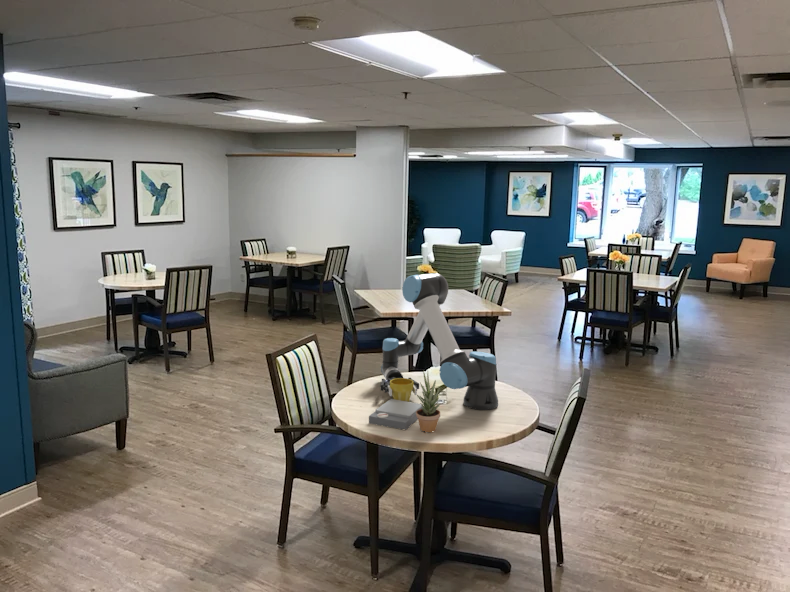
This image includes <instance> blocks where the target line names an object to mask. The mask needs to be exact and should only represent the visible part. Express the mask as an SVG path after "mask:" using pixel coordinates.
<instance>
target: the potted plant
mask: <svg viewBox="0 0 790 592" xmlns="http://www.w3.org/2000/svg"><path fill="white" fill-rule="evenodd" d="M422 373H423V379H424V380H423V381H424V385H425V387H424V385H423V384H422V382H420V381H419V385H420V387H421V389H422V391H421V393H422V396H423V397H422V396H421V395H418V394H417V395H416V396H417V398H418V399H419V400H420V403H419V404H421V405H422V406H423V407H424V408H422V409H419V410H417V411H416V416H417V418H418V420H417V421H418V424H419V430H420V431H421V430H422V431H425V432H424V433H426V432H431V433H433V432H432V431H434V432H436V429H437V426H438V423H439V419H440V417H441V411H440V410H439V409H438V408H439V407H440V406H441V404H442V403H439V401H438V400H439V399H440V397H439V392H440V390H441V388H440V387H439V388H438V390H437V391H436V392H435V389H436V388H435V387H436V382H437V380H436V379H434V381H433V384H432V387H431V385H430V379H429V378H430V377H429V376H430V375H429V370H427V376H426V375H425V370H423V371H422ZM434 392H435V393H434ZM438 403H439V404H438ZM422 431H421V432H422Z"/></svg>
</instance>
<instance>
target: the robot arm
mask: <svg viewBox="0 0 790 592" xmlns="http://www.w3.org/2000/svg"><path fill="white" fill-rule="evenodd" d="M401 291H402V295H403V298H404V299H405V301H406V302H408V303H412V305H413V307H414V309H416V310H418V313H417V315H416V317H415V320H414V321H413V324H412V326H411V327H410V330H409V332H408V334H407V336H406V338H405V339H404V340H399V339H397V338H394V337H387V338H384V339H383V341H382V364H381V367H380V370H381V371H380V372H381V374H382V376H383V377H384V378H381V382H380V387H379V388H380V389H379V390H380V391H384V393H388V395H389V397H393V395H392V389H391V388H390V381H391V380H392V379H396V378H404V375H403V374H402V372H401V371H400V369H399V358H402V357H406V356H412V355H417V354H420V353H421V352H422V351H423V349H424V342H423V339H424V338H425V337H426V334H427V332H428V331H429V334H430V336H431V338H432V341H433V342H434V344H435V347H436V349H437V351H438V353H439V355H440V358H441V359H440V362H439V364H440V367H439V377H440V380H441V382H442V384H444V386H445V387H447V388H448V389H451V390H457V389H458V390H459V389H463V388H466V387H467V389H466V391H465V394H464V396H463V405H464V406H465V407H467V408H469V409H472V410H479V411H488V410H489V411H490V410H493V409H496V408H497V406H499V399H498V393H497V391H496V376H497V375H496V374H497V358H496V356H495V355H494V354H492V353H488V352H483V351H470V352H469V355H468V356H469V357H468V356H467V354H466V352H465V351H464V350H461V349H460V347H459V345H458V343H457V341H456V338H455V336H454V334H453V331H452V330H451V328H450V326H449V323H448V321H447V320H446V317H445V315H444V312H443V311H442V309H441V305H443V304H444V303H445V301H446V300H447V297H448V294H449V284H448V281H447V279H446V278H445V276H443V275H442V274H440V273H437V272H430V273H420V274H418V273H417V274H416V273H415V274H413V275H409V276H407V277H406V278H405V280H404V281H403V284H402V290H401ZM407 379H411V380H413V382H414V386H413V390H412V391H411V392H412V393H413V394H414V396H417V395H418V393H417V392H418V390H419V389H420V382H417V381H416V380H414V379H412V377H408V378H407Z"/></svg>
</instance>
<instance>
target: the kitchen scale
mask: <svg viewBox="0 0 790 592" xmlns="http://www.w3.org/2000/svg"><path fill="white" fill-rule="evenodd" d="M421 404H422V403H421ZM421 404H420V403H418V402H411V401H409V402H407V401H401V400H395V399H393V398H389V400H387V401H386V402H384V403H383V404H381V405H380V406H379V407H377V408H376V409H375V411H373V412H372V413H371V414H369V415H368V424H370V425H371V424H372V425H376V424H377V426H381V425H383V426H382V427H387V426H388V427H387V428H392V427H394V428H393V429H397V428H400V429H399V430H402V429H405V430H404V431H406V430H408V428H409V426H410V425H411V424H412V425H414V423H416V421H418V420H417V419H418V418H417V416H416V411H417V410H419V409H422V408H424V407H423V406H424V405H423V406H422V405H421ZM412 425H411V426H412ZM411 426H410V427H411Z"/></svg>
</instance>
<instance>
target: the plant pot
mask: <svg viewBox="0 0 790 592" xmlns="http://www.w3.org/2000/svg"><path fill="white" fill-rule="evenodd" d="M411 379H412V378H411ZM411 379H408V378H405V377H403V378H396V379H392V380H391V381H390V388H391V389H392V399H395V400H401V401H407V402H410V400H411V399H410V398H411V395H412V392H413V391H412V390H413V386H414V382H413V380H414V379H412V380H411Z"/></svg>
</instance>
